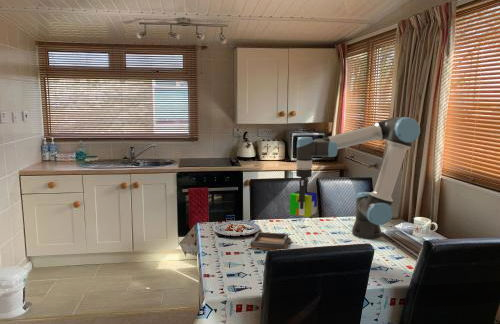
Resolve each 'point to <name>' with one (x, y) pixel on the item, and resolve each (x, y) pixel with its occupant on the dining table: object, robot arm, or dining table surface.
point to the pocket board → (270, 241)
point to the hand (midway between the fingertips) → (303, 211)
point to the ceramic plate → (239, 229)
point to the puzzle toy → (309, 203)
